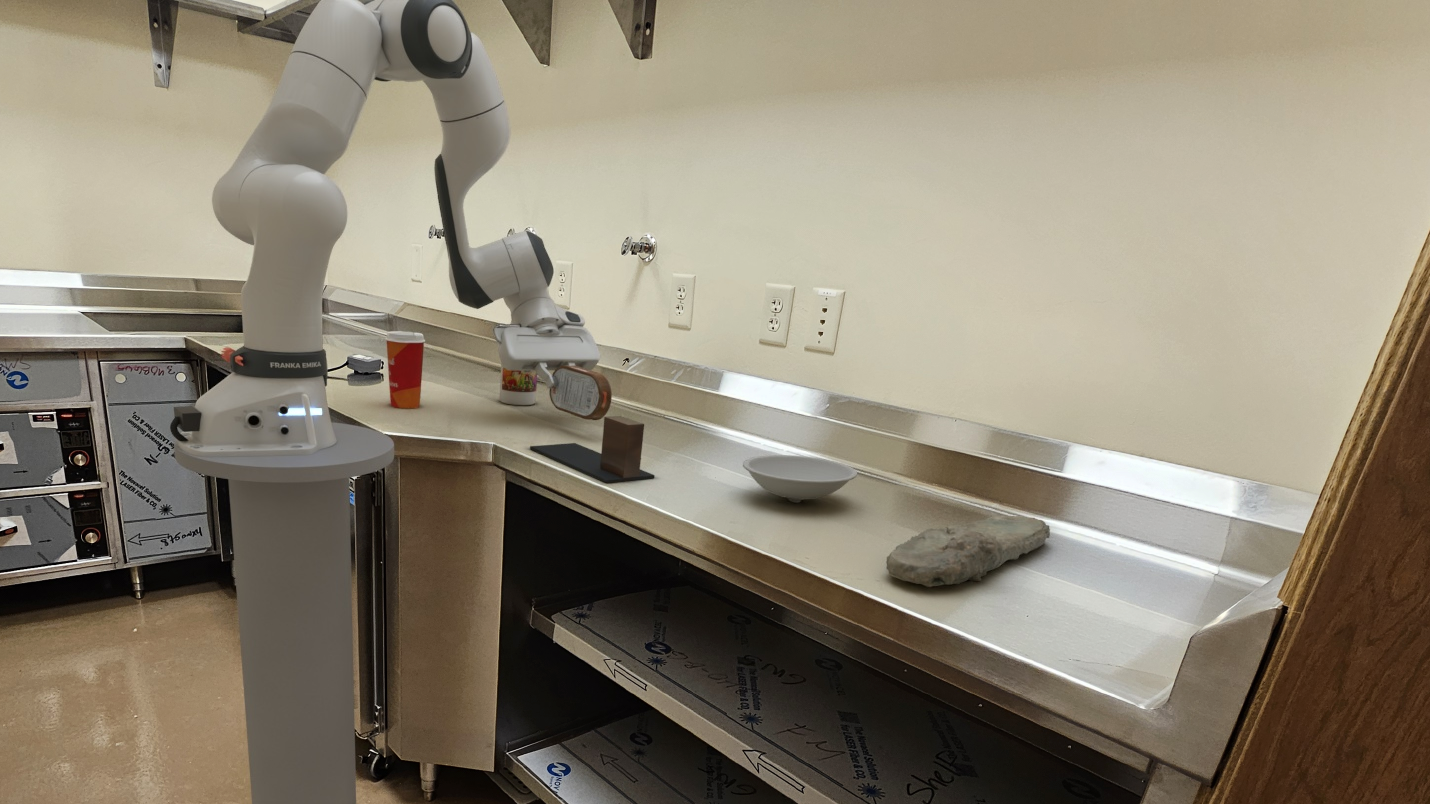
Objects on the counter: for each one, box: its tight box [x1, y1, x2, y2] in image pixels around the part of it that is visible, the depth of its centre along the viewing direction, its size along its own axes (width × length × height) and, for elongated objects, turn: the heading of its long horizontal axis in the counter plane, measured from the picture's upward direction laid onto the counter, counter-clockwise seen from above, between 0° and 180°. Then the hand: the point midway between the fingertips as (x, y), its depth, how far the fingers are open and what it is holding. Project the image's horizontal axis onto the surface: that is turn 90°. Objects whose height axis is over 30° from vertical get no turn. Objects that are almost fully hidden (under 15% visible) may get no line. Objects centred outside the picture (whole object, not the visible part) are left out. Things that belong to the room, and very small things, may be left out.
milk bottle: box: [499, 319, 538, 406], centre depth 175 cm, size 8×8×20 cm
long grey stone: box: [885, 514, 1051, 588], centre depth 101 cm, size 35×5×10 cm
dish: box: [742, 454, 858, 503], centre depth 121 cm, size 18×14×5 cm
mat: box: [529, 442, 655, 484], centre depth 133 cm, size 9×22×1 cm, turn 35°
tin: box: [548, 365, 613, 421], centre depth 151 cm, size 15×3×8 cm, turn 40°
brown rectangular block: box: [600, 415, 645, 478], centre depth 126 cm, size 3×6×8 cm, turn 35°
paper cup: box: [384, 330, 426, 410], centre depth 163 cm, size 8×8×14 cm
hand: (562, 386), depth 154 cm, fingers closed on tin, 3 cm apart
